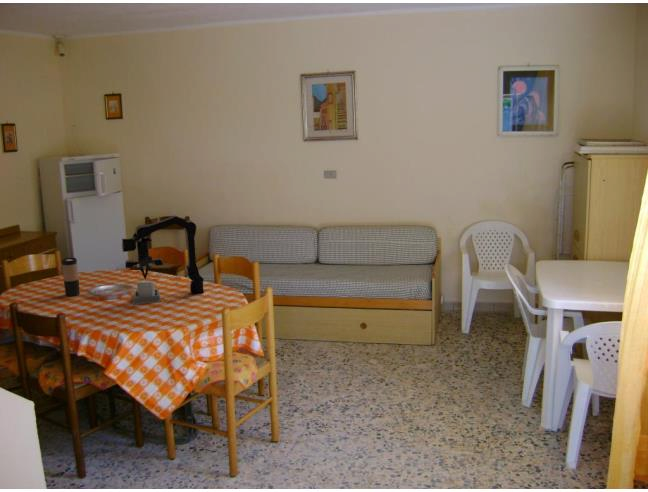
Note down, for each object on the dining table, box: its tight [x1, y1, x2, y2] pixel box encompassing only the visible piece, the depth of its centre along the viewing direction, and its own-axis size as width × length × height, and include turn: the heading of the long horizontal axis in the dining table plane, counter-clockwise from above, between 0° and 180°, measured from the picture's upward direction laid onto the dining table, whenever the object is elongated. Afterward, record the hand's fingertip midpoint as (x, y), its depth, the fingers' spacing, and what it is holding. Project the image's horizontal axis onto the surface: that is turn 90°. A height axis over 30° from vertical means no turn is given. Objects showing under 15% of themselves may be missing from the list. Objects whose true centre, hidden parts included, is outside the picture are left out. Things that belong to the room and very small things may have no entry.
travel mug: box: [61, 257, 81, 298], centre depth 361 cm, size 8×8×20 cm
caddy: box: [132, 288, 162, 305], centre depth 353 cm, size 14×16×3 cm
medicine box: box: [136, 280, 155, 297], centre depth 352 cm, size 8×4×9 cm, turn 86°
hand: (145, 278), depth 351 cm, fingers closed
